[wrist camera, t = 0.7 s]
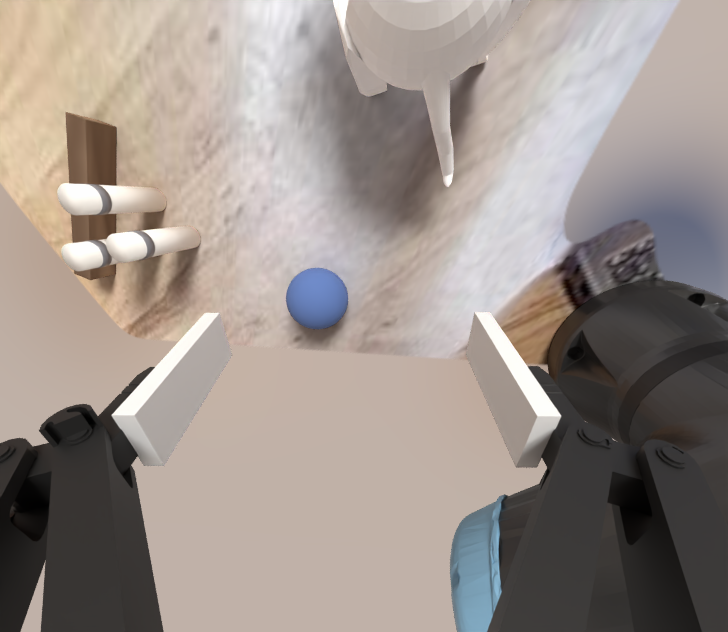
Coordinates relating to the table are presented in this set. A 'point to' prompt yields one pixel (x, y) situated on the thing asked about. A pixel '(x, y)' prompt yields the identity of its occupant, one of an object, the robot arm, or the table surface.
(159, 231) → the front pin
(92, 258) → the pin
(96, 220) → the back wall
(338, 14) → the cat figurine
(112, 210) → the pin
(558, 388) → the robot arm
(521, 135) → the table surface
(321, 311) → the ball
